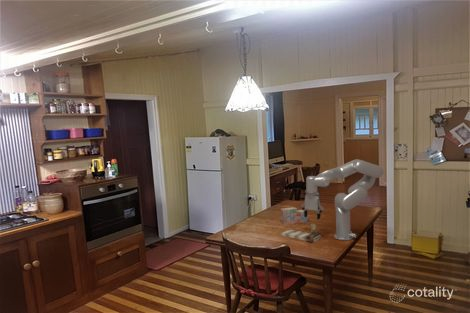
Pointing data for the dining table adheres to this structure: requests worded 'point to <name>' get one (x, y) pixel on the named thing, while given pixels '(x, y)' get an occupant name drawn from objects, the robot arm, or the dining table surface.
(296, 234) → the birch board
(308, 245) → the dining table surface
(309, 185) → the robot arm
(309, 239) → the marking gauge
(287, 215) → the stack of blocks
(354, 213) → the dining table surface
